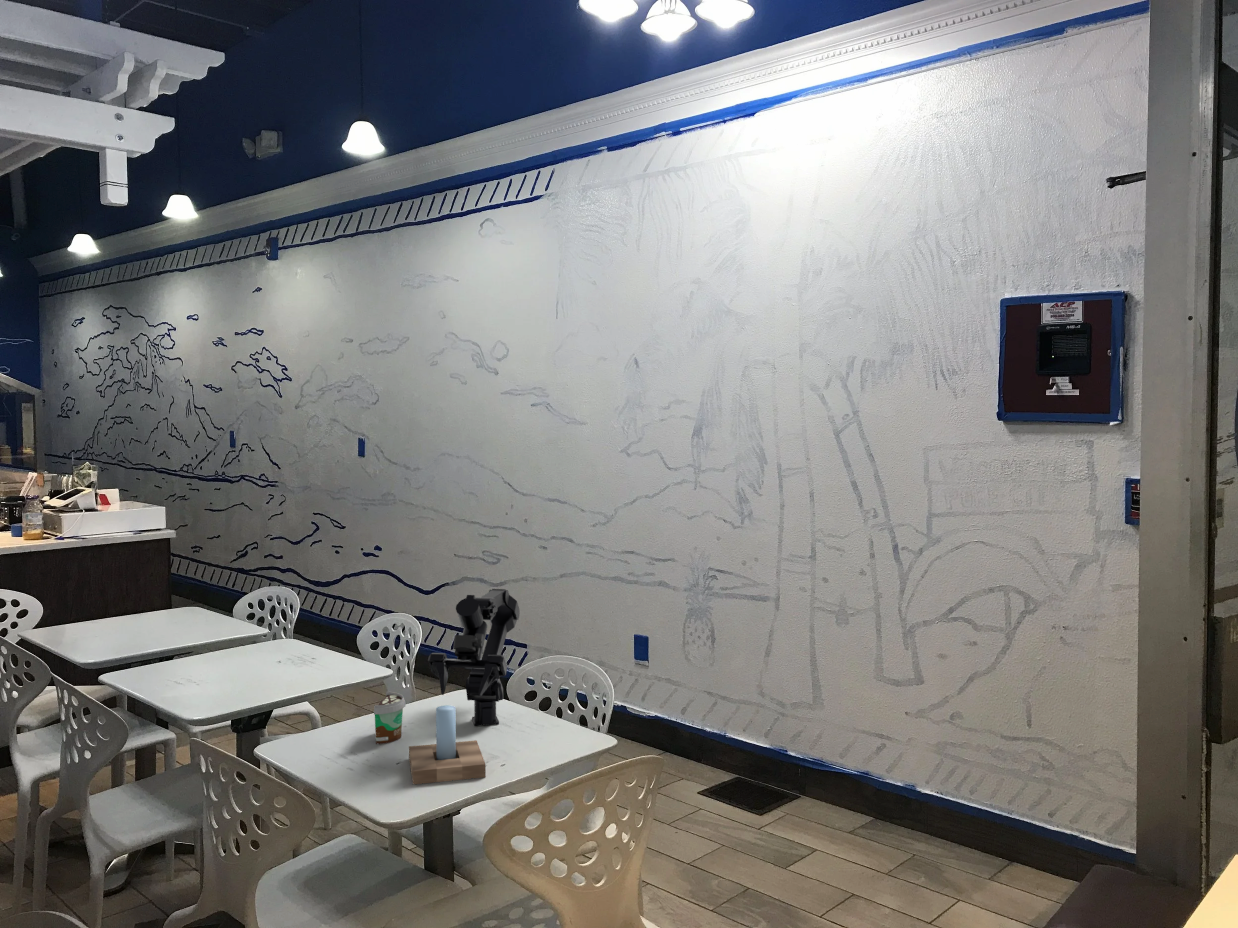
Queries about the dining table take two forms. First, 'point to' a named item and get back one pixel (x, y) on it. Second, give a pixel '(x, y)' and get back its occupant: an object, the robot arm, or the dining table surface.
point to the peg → (445, 732)
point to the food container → (389, 718)
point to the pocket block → (446, 763)
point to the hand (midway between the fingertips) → (460, 694)
